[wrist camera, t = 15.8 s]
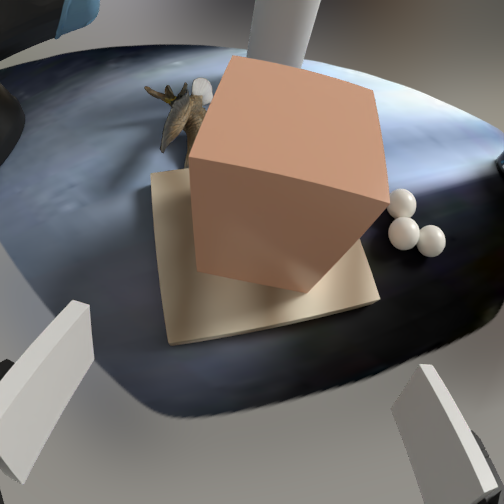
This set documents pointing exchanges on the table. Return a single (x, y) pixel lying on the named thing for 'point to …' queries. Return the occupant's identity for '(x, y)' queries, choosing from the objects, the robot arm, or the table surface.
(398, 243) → the cream marble
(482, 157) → the table surface
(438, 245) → the cream marble
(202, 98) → the eagle figurine
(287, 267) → the peach squarish block
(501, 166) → the supplement container
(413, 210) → the cream marble
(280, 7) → the travel mug
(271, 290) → the birch pad
